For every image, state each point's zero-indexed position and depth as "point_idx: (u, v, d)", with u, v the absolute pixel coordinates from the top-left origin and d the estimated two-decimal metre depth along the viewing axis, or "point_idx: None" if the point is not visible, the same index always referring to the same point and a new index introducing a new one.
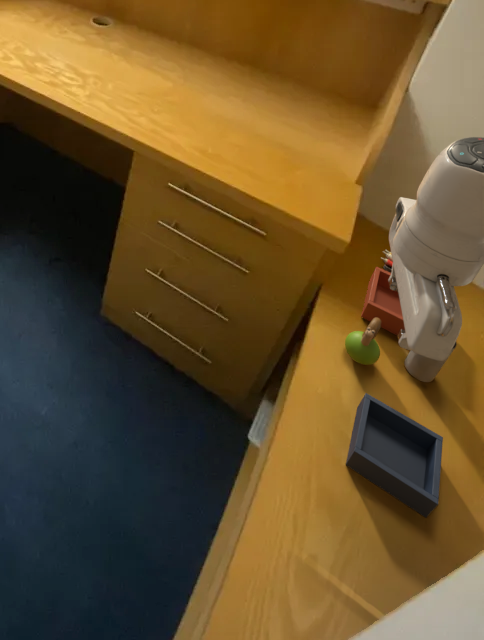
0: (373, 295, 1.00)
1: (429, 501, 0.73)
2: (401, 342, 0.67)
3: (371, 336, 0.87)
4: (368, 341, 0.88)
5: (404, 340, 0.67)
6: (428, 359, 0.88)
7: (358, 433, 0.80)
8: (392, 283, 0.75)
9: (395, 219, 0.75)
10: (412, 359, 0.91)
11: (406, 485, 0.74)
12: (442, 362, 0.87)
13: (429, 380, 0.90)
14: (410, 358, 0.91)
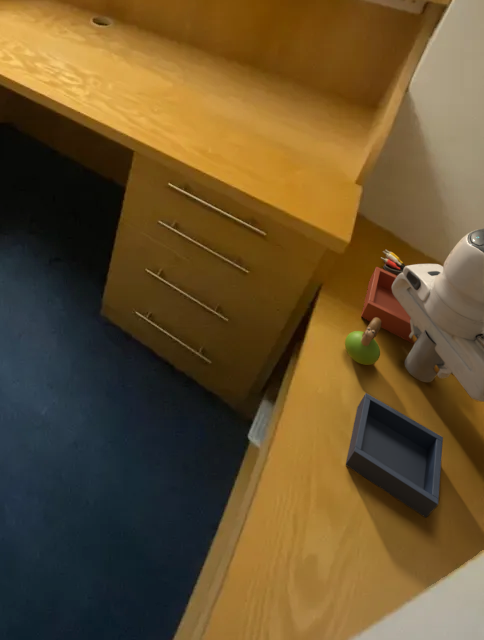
0: (373, 295, 1.00)
1: (429, 501, 0.73)
2: (440, 375, 0.87)
3: (371, 336, 0.87)
4: (368, 341, 0.88)
5: (443, 373, 0.86)
6: (428, 359, 0.88)
7: (358, 433, 0.80)
8: (416, 340, 0.92)
9: (400, 280, 0.93)
10: (412, 359, 0.91)
11: (406, 485, 0.74)
12: (442, 362, 0.87)
13: (429, 380, 0.90)
14: (410, 358, 0.91)
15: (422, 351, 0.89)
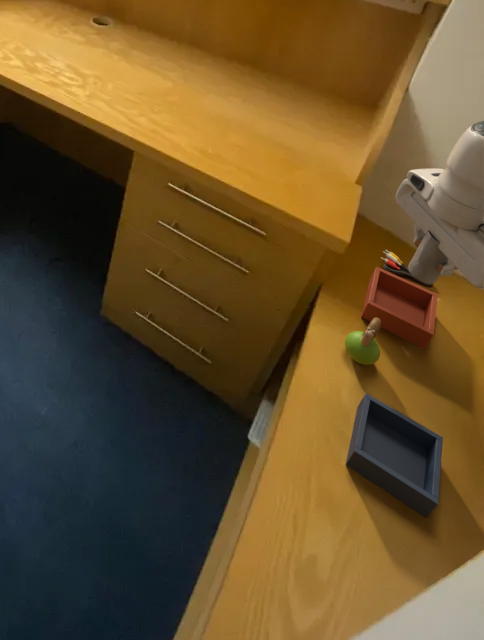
0: (373, 295, 1.00)
1: (429, 501, 0.73)
2: (444, 272, 0.89)
3: (371, 336, 0.87)
4: (368, 341, 0.88)
5: (446, 270, 0.88)
6: (431, 258, 0.90)
7: (358, 433, 0.80)
8: None
9: (404, 187, 0.95)
10: (416, 262, 0.93)
11: (406, 485, 0.74)
12: (445, 261, 0.89)
13: (432, 281, 0.92)
14: (414, 261, 0.93)
15: (425, 251, 0.91)
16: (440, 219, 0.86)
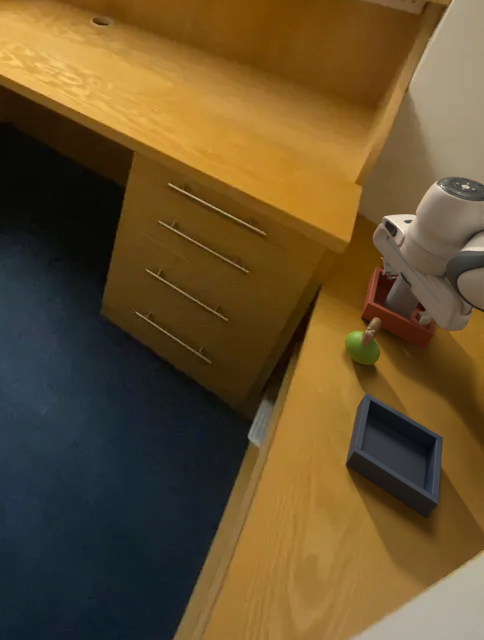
0: (373, 295, 1.00)
1: (429, 501, 0.73)
2: (422, 321, 0.94)
3: (371, 336, 0.87)
4: (368, 341, 0.88)
5: (424, 319, 0.94)
6: (403, 299, 0.97)
7: (358, 433, 0.80)
8: (388, 276, 1.02)
9: (380, 231, 1.02)
10: (389, 301, 1.00)
11: (406, 485, 0.74)
12: (416, 301, 0.97)
13: None
14: (388, 300, 1.01)
15: (398, 292, 0.98)
16: (411, 264, 0.94)
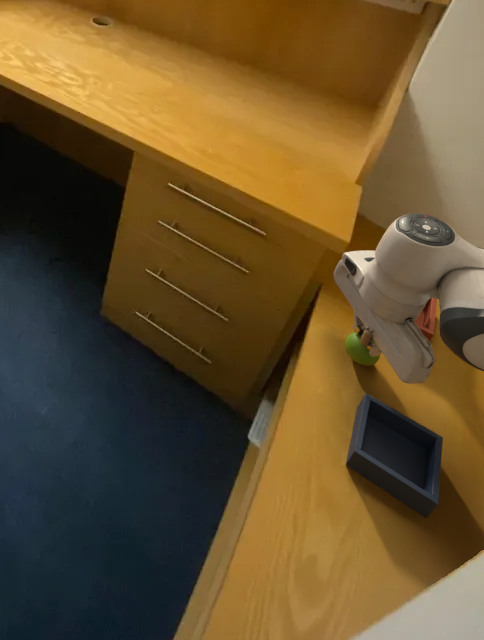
0: None
1: (429, 501, 0.73)
2: (372, 353, 0.89)
3: (370, 336, 0.87)
4: (367, 341, 0.88)
5: (374, 351, 0.89)
6: None
7: (358, 433, 0.80)
8: (359, 331, 0.92)
9: (340, 267, 0.94)
10: None
11: (406, 485, 0.74)
12: None
13: None
14: None
15: None
16: (370, 308, 0.86)
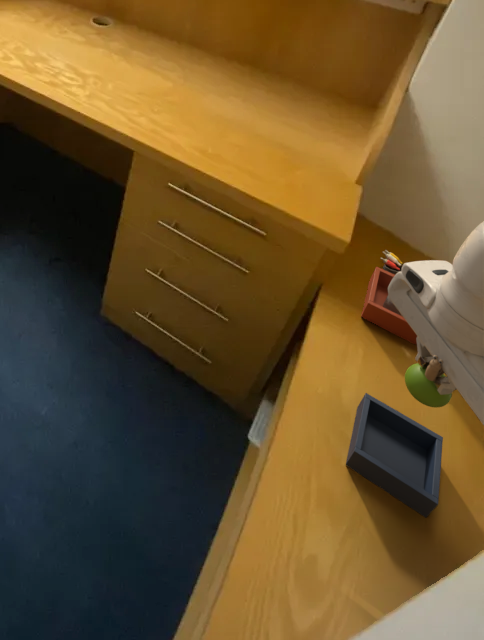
0: (373, 295, 1.00)
1: (429, 501, 0.73)
2: (442, 391, 0.70)
3: (438, 367, 0.68)
4: (434, 374, 0.69)
5: (445, 389, 0.69)
6: None
7: (358, 433, 0.80)
8: (424, 364, 0.73)
9: (398, 281, 0.75)
10: (389, 301, 1.00)
11: (406, 485, 0.74)
12: None
13: None
14: (388, 300, 1.01)
15: None
16: (444, 336, 0.66)
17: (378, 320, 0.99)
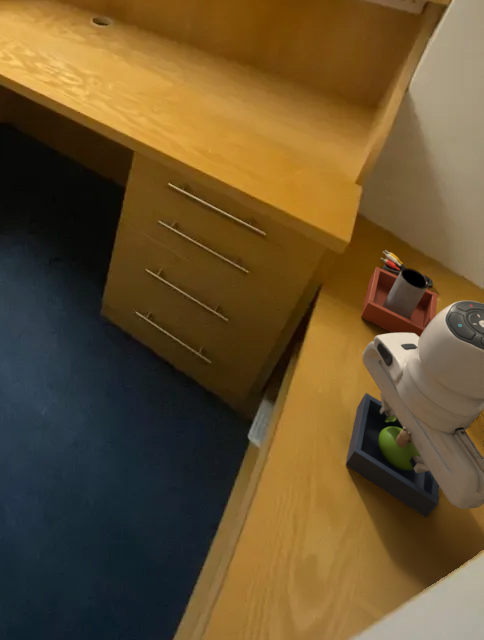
0: (373, 295, 1.00)
1: (429, 501, 0.73)
2: (418, 470, 0.74)
3: (407, 438, 0.73)
4: (403, 443, 0.74)
5: (420, 468, 0.73)
6: (403, 299, 0.97)
7: (358, 433, 0.80)
8: (387, 417, 0.79)
9: (371, 350, 0.80)
10: (389, 301, 1.00)
11: (406, 485, 0.74)
12: (416, 301, 0.97)
13: None
14: (388, 300, 1.01)
15: (398, 292, 0.98)
16: None
17: (378, 320, 0.99)
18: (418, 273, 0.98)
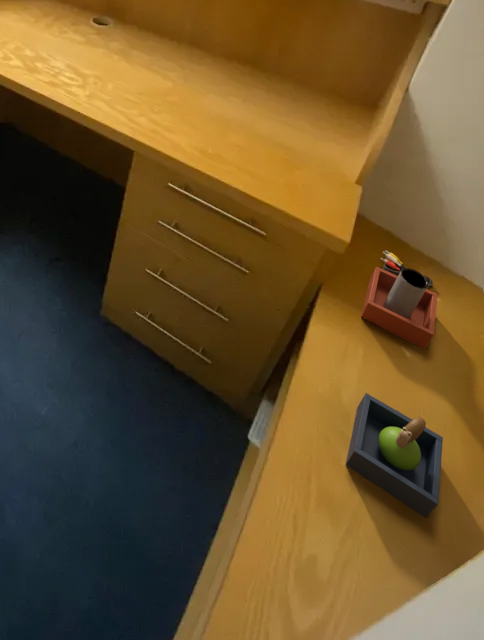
0: (373, 295, 1.00)
1: (429, 501, 0.73)
2: None
3: (407, 438, 0.73)
4: (403, 443, 0.74)
5: None
6: (403, 299, 0.97)
7: (358, 433, 0.80)
8: None
9: None
10: (389, 301, 1.00)
11: (406, 485, 0.74)
12: (416, 301, 0.97)
13: None
14: (388, 300, 1.01)
15: (398, 292, 0.98)
16: None
17: (378, 320, 0.99)
18: (418, 273, 0.98)
